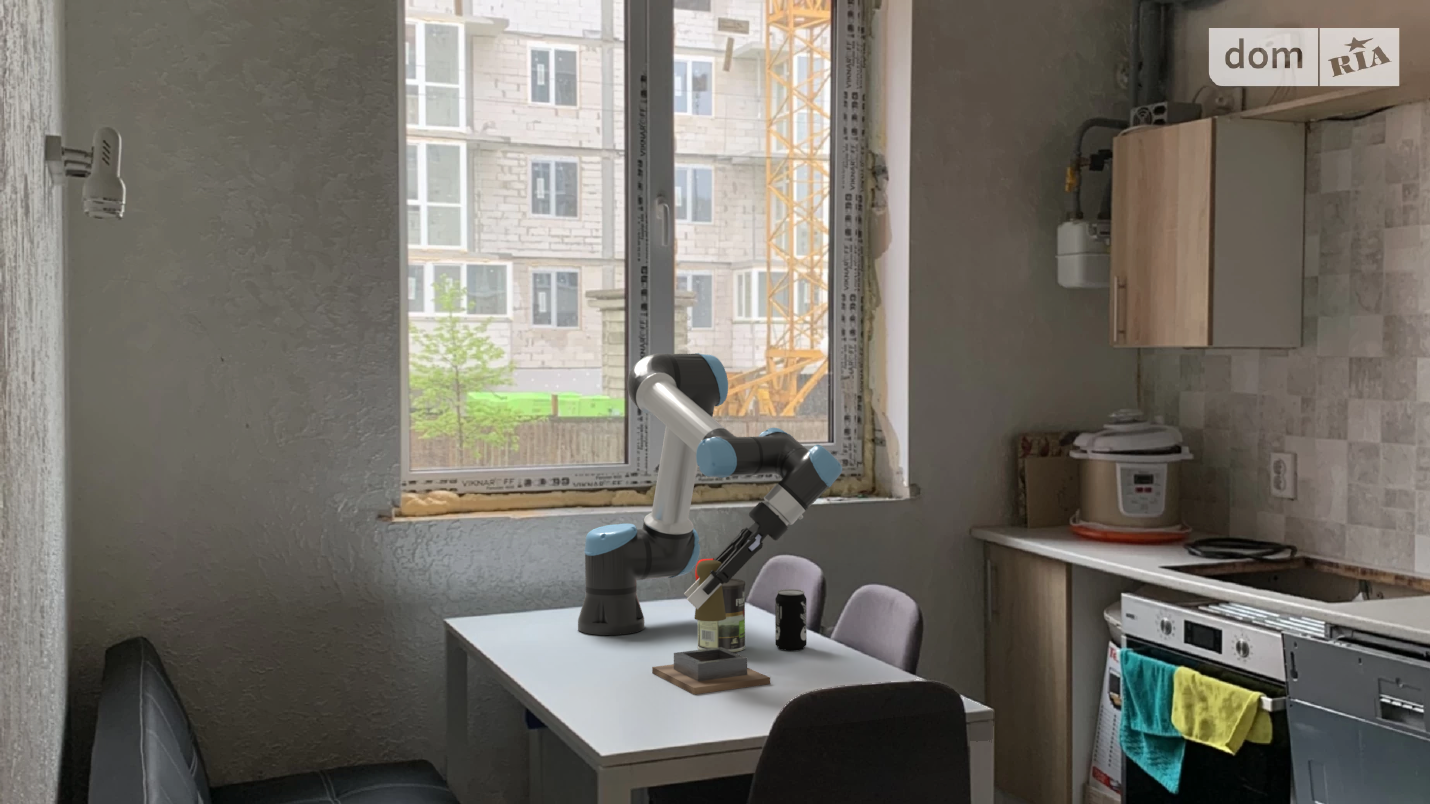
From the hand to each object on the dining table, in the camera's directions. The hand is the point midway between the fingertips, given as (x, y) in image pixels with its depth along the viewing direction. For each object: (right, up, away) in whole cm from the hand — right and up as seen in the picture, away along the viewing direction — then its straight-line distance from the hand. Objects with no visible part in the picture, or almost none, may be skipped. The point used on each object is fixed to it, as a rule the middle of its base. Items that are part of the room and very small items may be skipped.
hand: (690, 601), depth 231 cm
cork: (+4, -3, 0) cm, 5 cm away
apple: (+4, -13, +82) cm, 83 cm away
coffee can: (+6, -14, +27) cm, 31 cm away
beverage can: (+21, -14, +27) cm, 37 cm away
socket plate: (+4, -15, +1) cm, 15 cm away
